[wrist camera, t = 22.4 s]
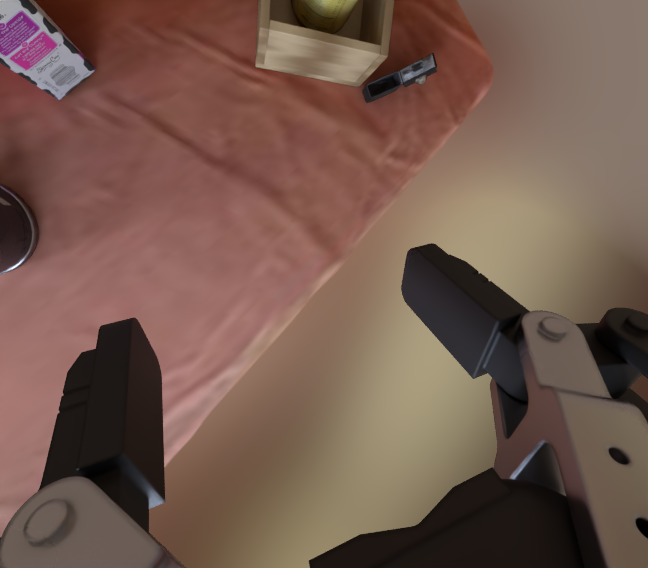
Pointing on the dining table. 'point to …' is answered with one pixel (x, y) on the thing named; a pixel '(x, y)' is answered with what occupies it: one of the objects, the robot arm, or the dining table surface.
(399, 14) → the dining table surface
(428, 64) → the lighter
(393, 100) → the dining table surface
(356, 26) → the caddy
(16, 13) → the candy bar box
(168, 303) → the dining table surface
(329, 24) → the sauce bottle
